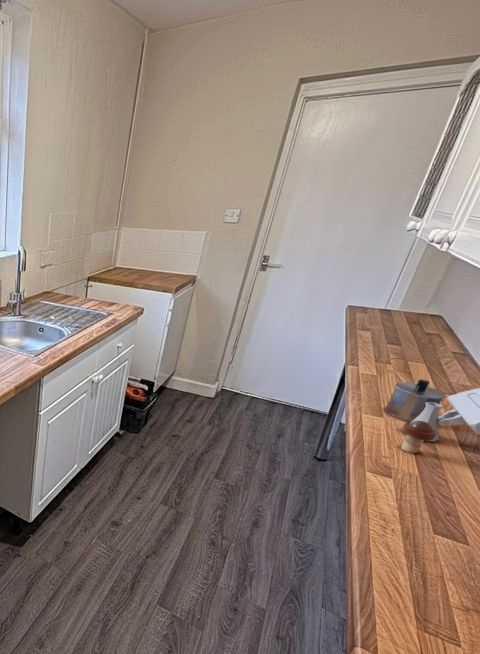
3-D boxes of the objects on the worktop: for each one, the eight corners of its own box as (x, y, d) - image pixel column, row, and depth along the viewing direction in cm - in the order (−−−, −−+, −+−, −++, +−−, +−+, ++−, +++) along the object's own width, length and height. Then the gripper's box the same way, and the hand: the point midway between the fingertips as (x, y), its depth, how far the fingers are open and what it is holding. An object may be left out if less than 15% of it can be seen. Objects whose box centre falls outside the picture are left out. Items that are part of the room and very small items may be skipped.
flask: (394, 429, 121) (408, 398, 117) (418, 428, 121) (432, 398, 118) (420, 442, 114) (436, 410, 111) (445, 441, 115) (461, 410, 111)
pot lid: (438, 391, 127) (444, 379, 125) (449, 404, 119) (455, 391, 117) (390, 382, 132) (396, 371, 131) (397, 394, 124) (403, 382, 123)
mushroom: (421, 448, 112) (436, 420, 108) (427, 459, 107) (443, 430, 104) (391, 441, 115) (405, 414, 112) (396, 451, 111) (410, 423, 107)
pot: (425, 413, 130) (437, 389, 126) (434, 427, 122) (447, 401, 119) (382, 405, 135) (393, 381, 132) (388, 417, 128) (400, 393, 124)
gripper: (485, 377, 114) (420, 399, 123) (518, 405, 99) (441, 428, 108) (501, 396, 113) (434, 416, 122) (536, 427, 98) (457, 448, 107)
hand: (438, 422), depth 115 cm, fingers closed
